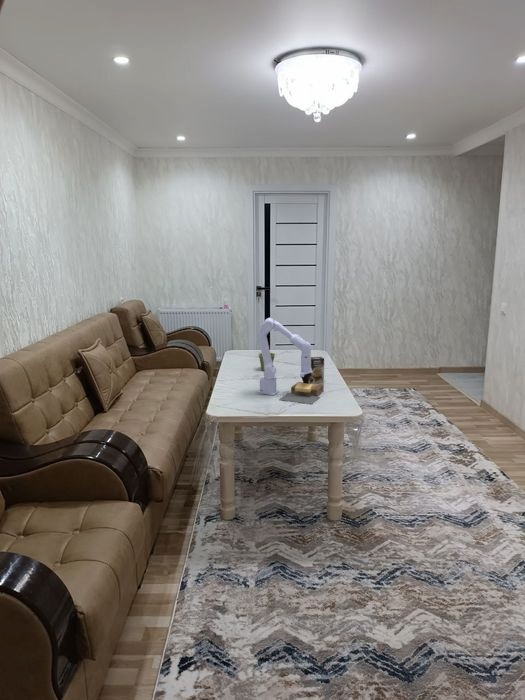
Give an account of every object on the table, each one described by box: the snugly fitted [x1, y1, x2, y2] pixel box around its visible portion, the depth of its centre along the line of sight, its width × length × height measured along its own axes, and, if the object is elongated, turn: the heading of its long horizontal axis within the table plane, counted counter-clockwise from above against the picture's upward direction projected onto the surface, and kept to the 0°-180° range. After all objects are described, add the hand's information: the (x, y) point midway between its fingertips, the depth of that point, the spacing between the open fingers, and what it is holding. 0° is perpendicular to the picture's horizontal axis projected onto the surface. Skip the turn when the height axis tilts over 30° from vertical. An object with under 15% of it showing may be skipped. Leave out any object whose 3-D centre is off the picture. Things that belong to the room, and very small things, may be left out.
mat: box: [278, 392, 321, 405], centre depth 290 cm, size 20×14×1 cm
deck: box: [290, 381, 325, 397], centre depth 301 cm, size 16×12×4 cm
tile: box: [295, 383, 313, 392], centre depth 294 cm, size 9×6×2 cm, turn 66°
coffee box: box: [309, 356, 325, 384], centre depth 319 cm, size 9×6×16 cm
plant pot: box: [257, 352, 276, 372], centre depth 351 cm, size 12×12×11 cm
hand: (305, 385), depth 298 cm, fingers closed
